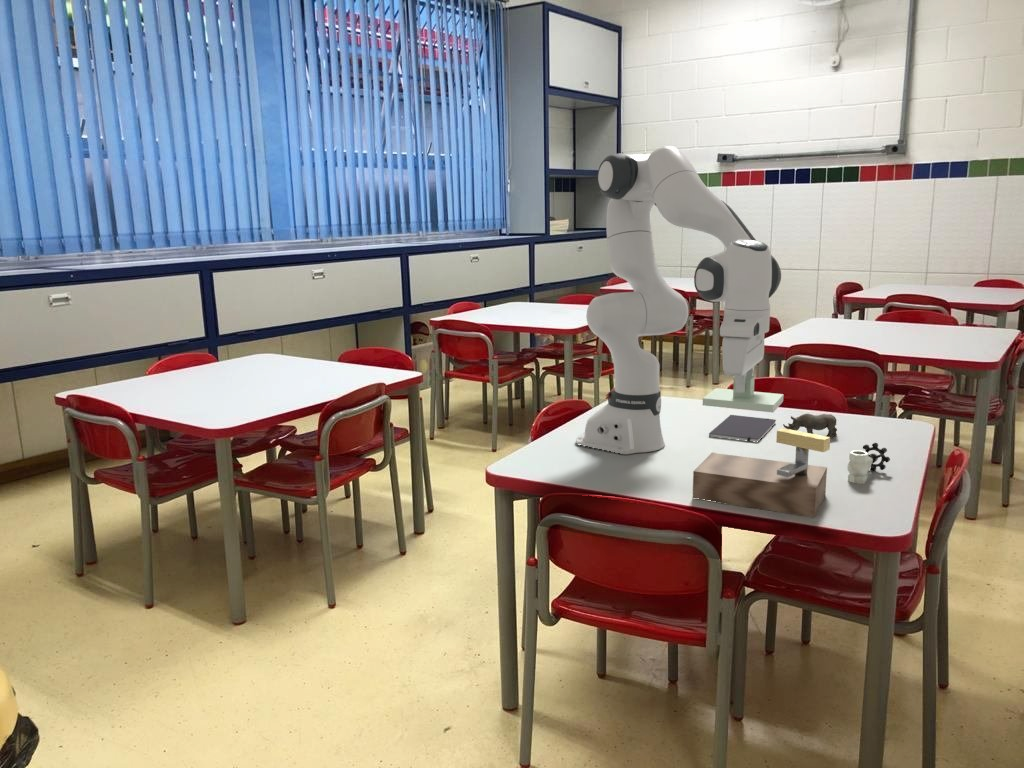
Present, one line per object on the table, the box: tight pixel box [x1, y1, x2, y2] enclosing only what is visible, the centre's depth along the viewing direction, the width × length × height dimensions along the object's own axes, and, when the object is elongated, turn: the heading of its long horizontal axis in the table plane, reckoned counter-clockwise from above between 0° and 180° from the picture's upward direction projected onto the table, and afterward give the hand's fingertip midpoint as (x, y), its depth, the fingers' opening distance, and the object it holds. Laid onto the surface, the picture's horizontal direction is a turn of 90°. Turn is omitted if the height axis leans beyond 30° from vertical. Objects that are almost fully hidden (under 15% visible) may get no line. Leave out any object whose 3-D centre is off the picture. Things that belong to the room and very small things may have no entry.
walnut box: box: [692, 452, 828, 518], centre depth 167 cm, size 24×14×6 cm, turn 61°
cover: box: [702, 375, 785, 413], centre depth 165 cm, size 14×10×6 cm
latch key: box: [776, 427, 831, 477], centre depth 160 cm, size 9×10×8 cm
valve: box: [847, 442, 891, 485], centre depth 178 cm, size 7×7×12 cm
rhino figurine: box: [782, 413, 838, 439], centre depth 210 cm, size 4×14×6 cm, turn 81°
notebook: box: [708, 414, 777, 443], centre depth 217 cm, size 13×2×21 cm
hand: (743, 389), depth 165 cm, fingers closed on cover, 3 cm apart
